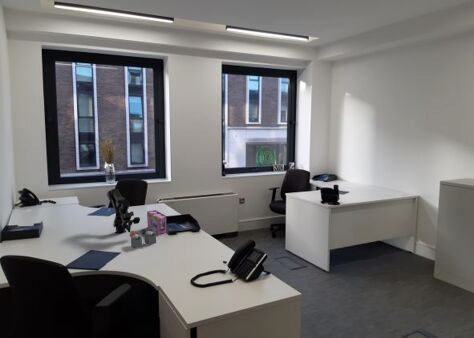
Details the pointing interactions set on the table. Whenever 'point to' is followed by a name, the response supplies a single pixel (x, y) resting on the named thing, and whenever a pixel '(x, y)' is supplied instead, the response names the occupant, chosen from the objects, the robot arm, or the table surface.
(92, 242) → the table surface
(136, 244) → the bed
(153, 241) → the grey u-shaped block
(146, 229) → the black plunger
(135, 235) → the copper plunger
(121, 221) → the robot arm
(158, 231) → the gum box
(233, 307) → the table surface
